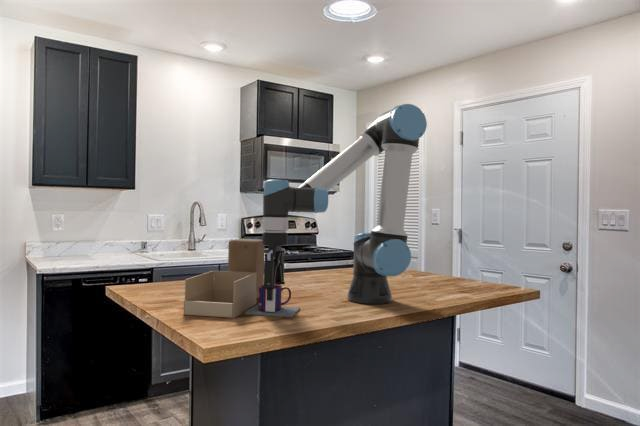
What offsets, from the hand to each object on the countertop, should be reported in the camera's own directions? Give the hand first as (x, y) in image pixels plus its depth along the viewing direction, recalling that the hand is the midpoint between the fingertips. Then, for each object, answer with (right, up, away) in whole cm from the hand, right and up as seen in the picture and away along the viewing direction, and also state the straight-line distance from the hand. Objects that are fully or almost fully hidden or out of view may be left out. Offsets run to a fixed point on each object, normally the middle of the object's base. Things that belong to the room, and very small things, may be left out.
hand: (273, 308), depth 139 cm
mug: (0, -1, +1) cm, 1 cm away
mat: (0, -1, 0) cm, 1 cm away
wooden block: (-12, -1, +21) cm, 24 cm away
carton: (-16, -1, +3) cm, 16 cm away
